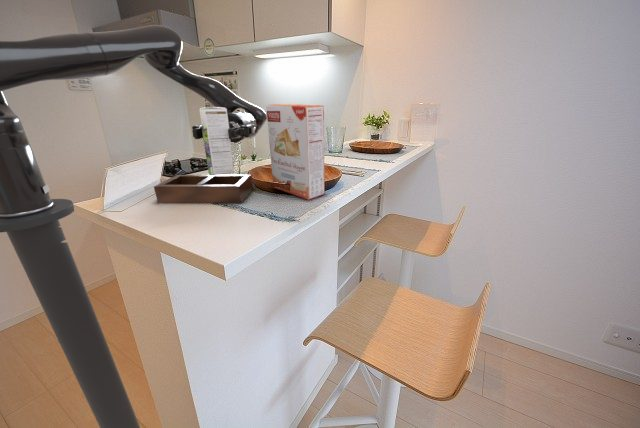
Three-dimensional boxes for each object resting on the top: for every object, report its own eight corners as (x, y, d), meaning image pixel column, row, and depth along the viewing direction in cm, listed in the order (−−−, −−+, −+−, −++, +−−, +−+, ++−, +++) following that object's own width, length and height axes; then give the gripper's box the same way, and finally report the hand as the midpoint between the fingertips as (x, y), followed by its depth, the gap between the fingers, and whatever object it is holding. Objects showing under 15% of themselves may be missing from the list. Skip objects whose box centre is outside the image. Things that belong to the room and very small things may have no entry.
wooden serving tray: (157, 203, 66) (153, 186, 65) (179, 189, 76) (176, 174, 75) (241, 203, 66) (239, 186, 64) (252, 189, 75) (251, 174, 74)
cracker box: (271, 189, 75) (264, 104, 67) (289, 184, 79) (284, 103, 71) (307, 201, 66) (304, 104, 58) (325, 195, 70) (325, 104, 62)
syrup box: (208, 170, 70) (197, 107, 64) (233, 168, 71) (225, 106, 66) (209, 176, 65) (197, 108, 59) (235, 173, 67) (227, 107, 61)
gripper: (208, 112, 77) (177, 116, 61) (260, 112, 76) (243, 116, 61) (212, 140, 80) (183, 151, 64) (263, 140, 79) (246, 151, 64)
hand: (212, 134), depth 63 cm, fingers closed on syrup box, 7 cm apart
